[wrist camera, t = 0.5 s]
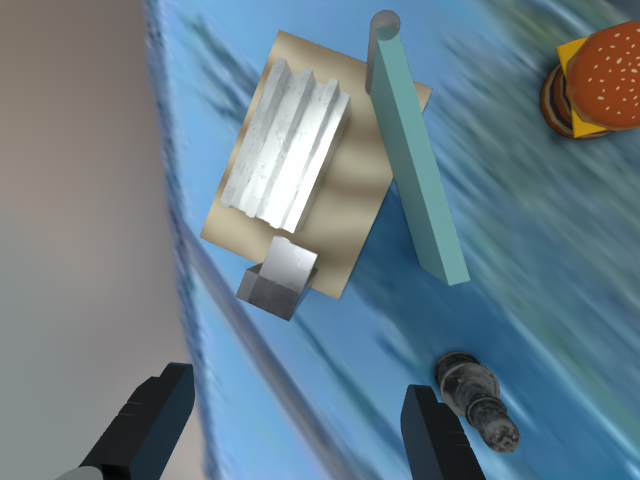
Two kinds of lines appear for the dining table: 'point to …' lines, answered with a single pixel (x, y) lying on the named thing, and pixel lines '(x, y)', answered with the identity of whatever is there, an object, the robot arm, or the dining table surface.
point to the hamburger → (595, 84)
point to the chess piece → (476, 399)
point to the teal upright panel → (411, 152)
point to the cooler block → (286, 178)
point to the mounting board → (338, 184)
